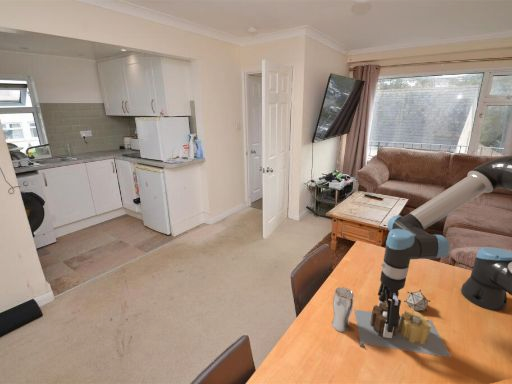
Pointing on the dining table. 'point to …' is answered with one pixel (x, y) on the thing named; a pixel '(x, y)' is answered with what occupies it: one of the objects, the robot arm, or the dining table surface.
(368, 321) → the gear board
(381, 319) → the walnut gear
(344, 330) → the beer glass
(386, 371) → the dining table surface
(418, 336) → the gear
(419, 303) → the game die
